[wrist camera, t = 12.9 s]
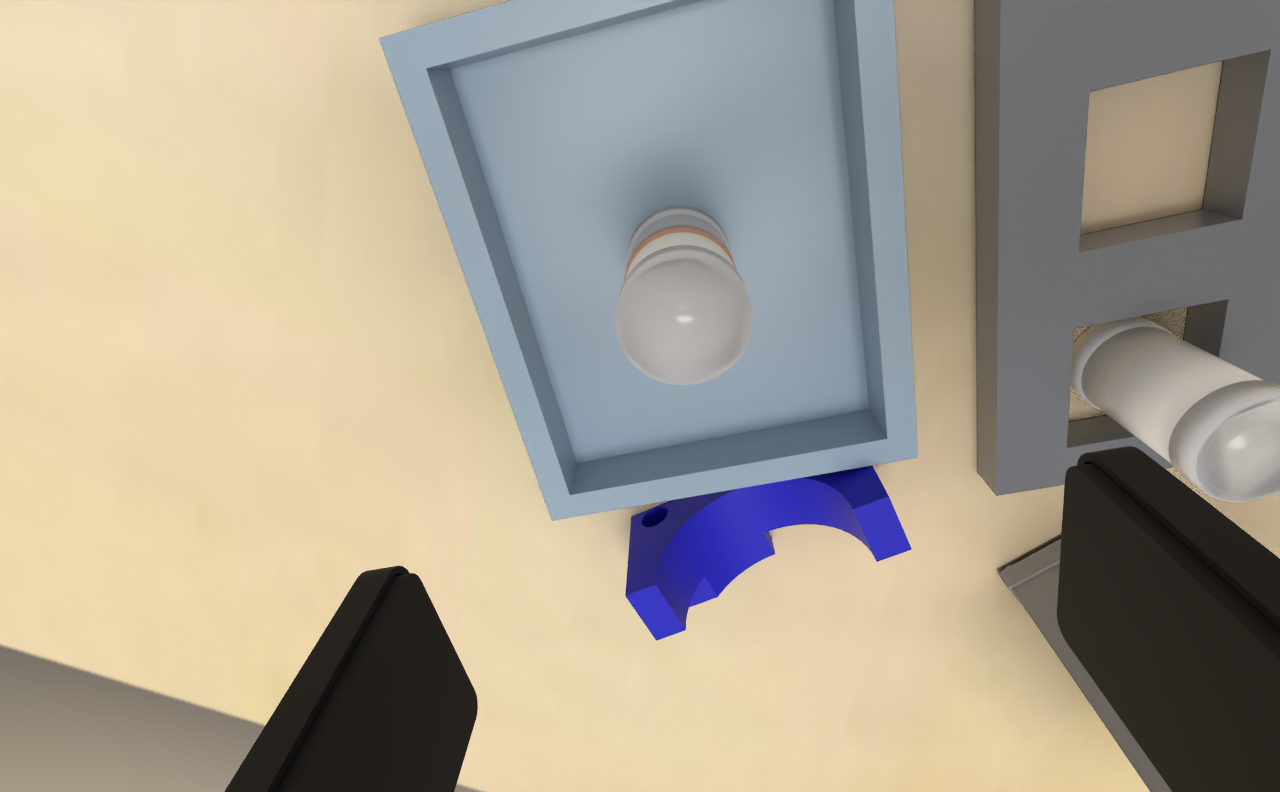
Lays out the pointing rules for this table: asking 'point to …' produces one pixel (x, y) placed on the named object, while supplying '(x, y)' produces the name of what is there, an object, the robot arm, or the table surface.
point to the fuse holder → (1119, 257)
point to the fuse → (1184, 406)
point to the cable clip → (744, 537)
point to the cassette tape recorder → (1039, 596)
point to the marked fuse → (682, 299)
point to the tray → (664, 177)
